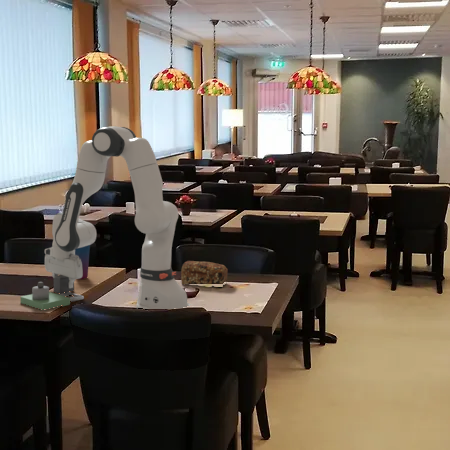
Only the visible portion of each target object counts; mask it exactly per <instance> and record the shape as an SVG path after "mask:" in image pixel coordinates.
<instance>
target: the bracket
mask: <svg viewBox="0 0 450 450" xmlns="http://www.w3.org/2000/svg"><path fill="white" fill-rule="evenodd" d="M57 294H58V293H57ZM58 295H61V296H68V298H70V301H71V302H76V301H81V300H84V298H85V297H84V295H82V294H77V293H73V292H65V293H60V294H58ZM69 295H73V296H74V297H73V296H69ZM71 302H70V303H71Z"/></svg>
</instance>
